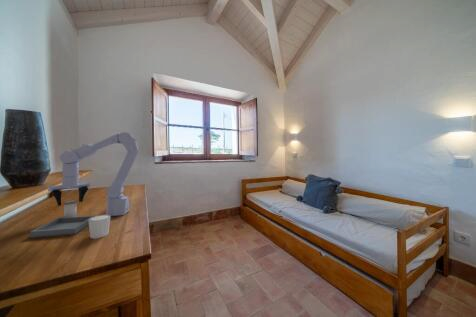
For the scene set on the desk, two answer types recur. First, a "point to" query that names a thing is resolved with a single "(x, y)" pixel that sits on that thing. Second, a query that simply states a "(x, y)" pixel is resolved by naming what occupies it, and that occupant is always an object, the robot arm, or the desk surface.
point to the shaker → (70, 209)
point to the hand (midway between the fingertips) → (70, 203)
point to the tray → (61, 227)
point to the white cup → (99, 226)
